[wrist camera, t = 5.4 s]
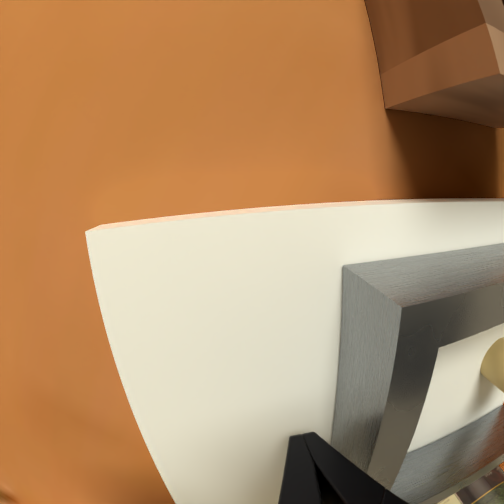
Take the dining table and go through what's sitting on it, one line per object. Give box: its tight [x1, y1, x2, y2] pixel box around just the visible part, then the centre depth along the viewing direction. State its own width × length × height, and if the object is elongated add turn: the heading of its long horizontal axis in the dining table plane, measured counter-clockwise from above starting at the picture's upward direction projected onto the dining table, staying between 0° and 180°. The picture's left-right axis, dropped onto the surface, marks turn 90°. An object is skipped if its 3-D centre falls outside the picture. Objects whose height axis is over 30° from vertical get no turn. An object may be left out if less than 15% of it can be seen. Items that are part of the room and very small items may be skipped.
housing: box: [330, 243, 504, 504], centre depth 8 cm, size 11×11×3 cm
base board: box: [85, 198, 504, 504], centre depth 9 cm, size 18×16×4 cm
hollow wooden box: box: [365, 0, 504, 128], centre depth 6 cm, size 6×6×5 cm
